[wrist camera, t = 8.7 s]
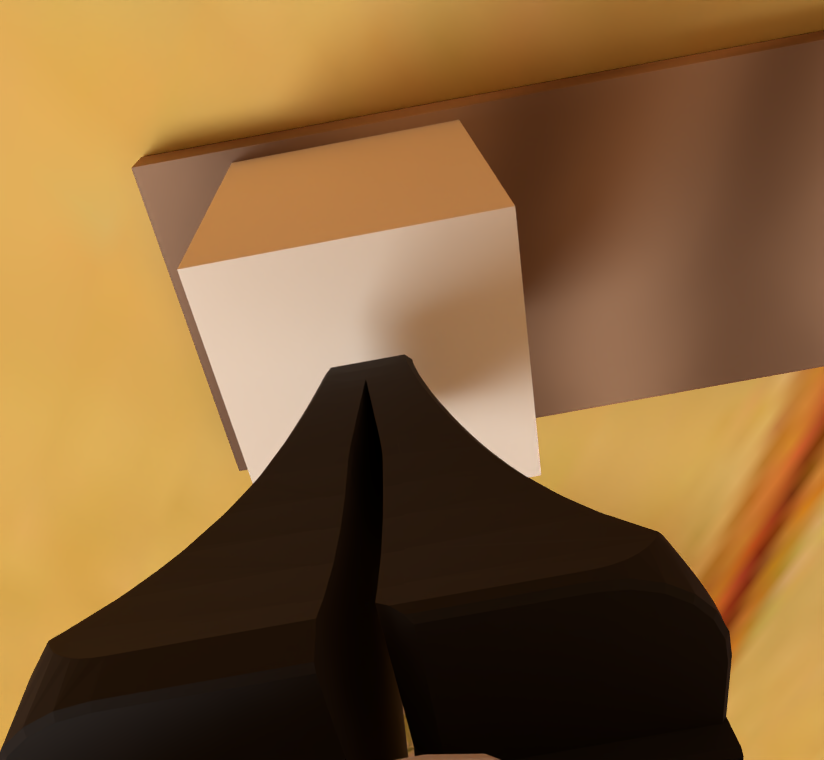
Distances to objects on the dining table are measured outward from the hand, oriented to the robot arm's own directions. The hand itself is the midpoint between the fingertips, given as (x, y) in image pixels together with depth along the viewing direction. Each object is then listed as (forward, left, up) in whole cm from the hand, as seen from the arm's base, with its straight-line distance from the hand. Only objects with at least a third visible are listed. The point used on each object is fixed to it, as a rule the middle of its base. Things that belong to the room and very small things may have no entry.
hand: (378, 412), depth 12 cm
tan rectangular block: (0, 0, -8) cm, 8 cm away
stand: (-4, +2, -8) cm, 10 cm away
